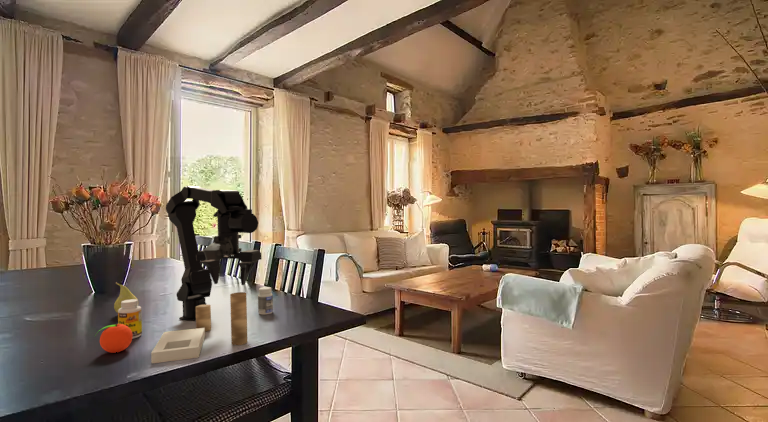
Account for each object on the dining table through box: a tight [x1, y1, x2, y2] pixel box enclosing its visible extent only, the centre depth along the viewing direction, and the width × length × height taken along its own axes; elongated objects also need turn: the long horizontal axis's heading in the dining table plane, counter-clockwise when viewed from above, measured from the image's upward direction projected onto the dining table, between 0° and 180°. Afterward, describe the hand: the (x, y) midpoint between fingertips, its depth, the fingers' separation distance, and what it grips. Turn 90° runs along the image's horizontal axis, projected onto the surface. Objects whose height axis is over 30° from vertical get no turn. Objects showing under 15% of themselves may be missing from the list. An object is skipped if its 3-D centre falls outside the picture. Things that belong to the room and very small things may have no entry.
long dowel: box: [229, 291, 249, 346], centre depth 106 cm, size 4×4×13 cm
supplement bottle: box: [117, 298, 143, 340], centre depth 112 cm, size 6×6×10 cm
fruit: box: [113, 281, 139, 314], centre depth 134 cm, size 7×8×12 cm
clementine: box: [94, 323, 133, 354], centre depth 100 cm, size 8×7×7 cm
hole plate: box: [150, 327, 206, 364], centre depth 102 cm, size 16×10×2 cm, turn 19°
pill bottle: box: [257, 286, 274, 315], centre depth 134 cm, size 5×5×8 cm
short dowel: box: [195, 304, 212, 333], centre depth 117 cm, size 4×4×7 cm
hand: (229, 284), depth 119 cm, fingers open, 9 cm apart
